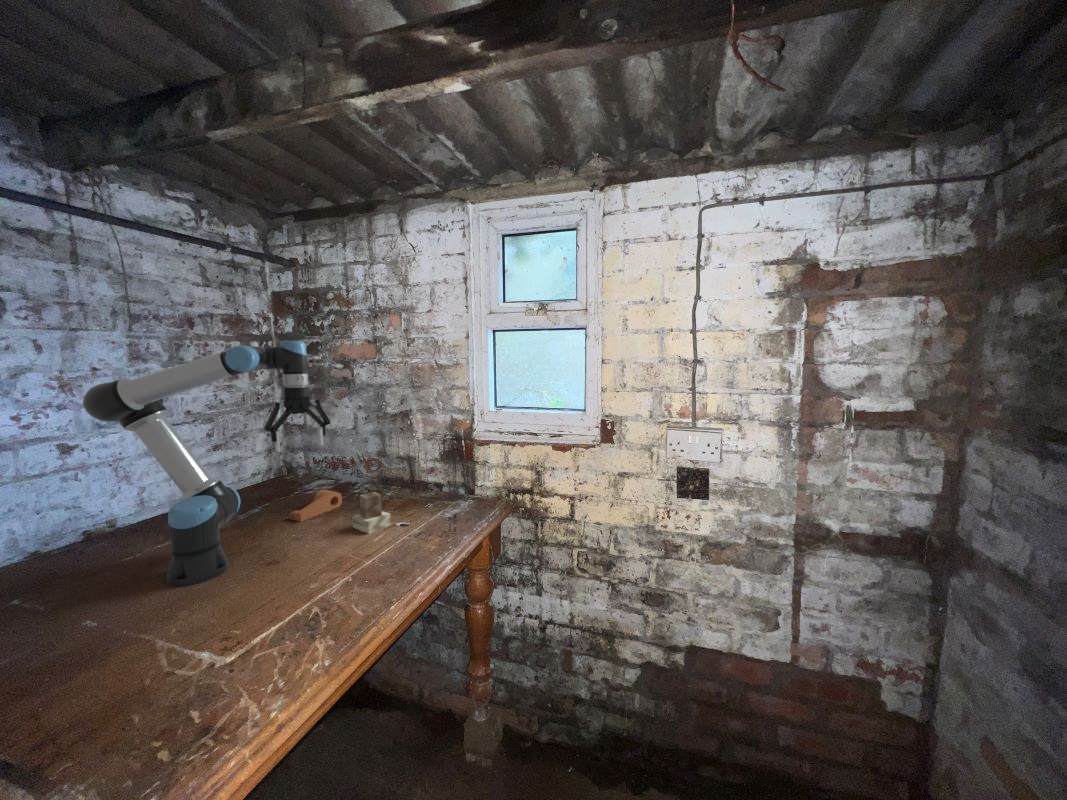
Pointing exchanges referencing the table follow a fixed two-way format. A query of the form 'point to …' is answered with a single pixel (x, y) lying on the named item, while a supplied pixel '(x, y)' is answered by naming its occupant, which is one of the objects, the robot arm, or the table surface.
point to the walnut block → (370, 505)
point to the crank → (318, 505)
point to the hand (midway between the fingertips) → (300, 447)
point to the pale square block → (371, 522)
